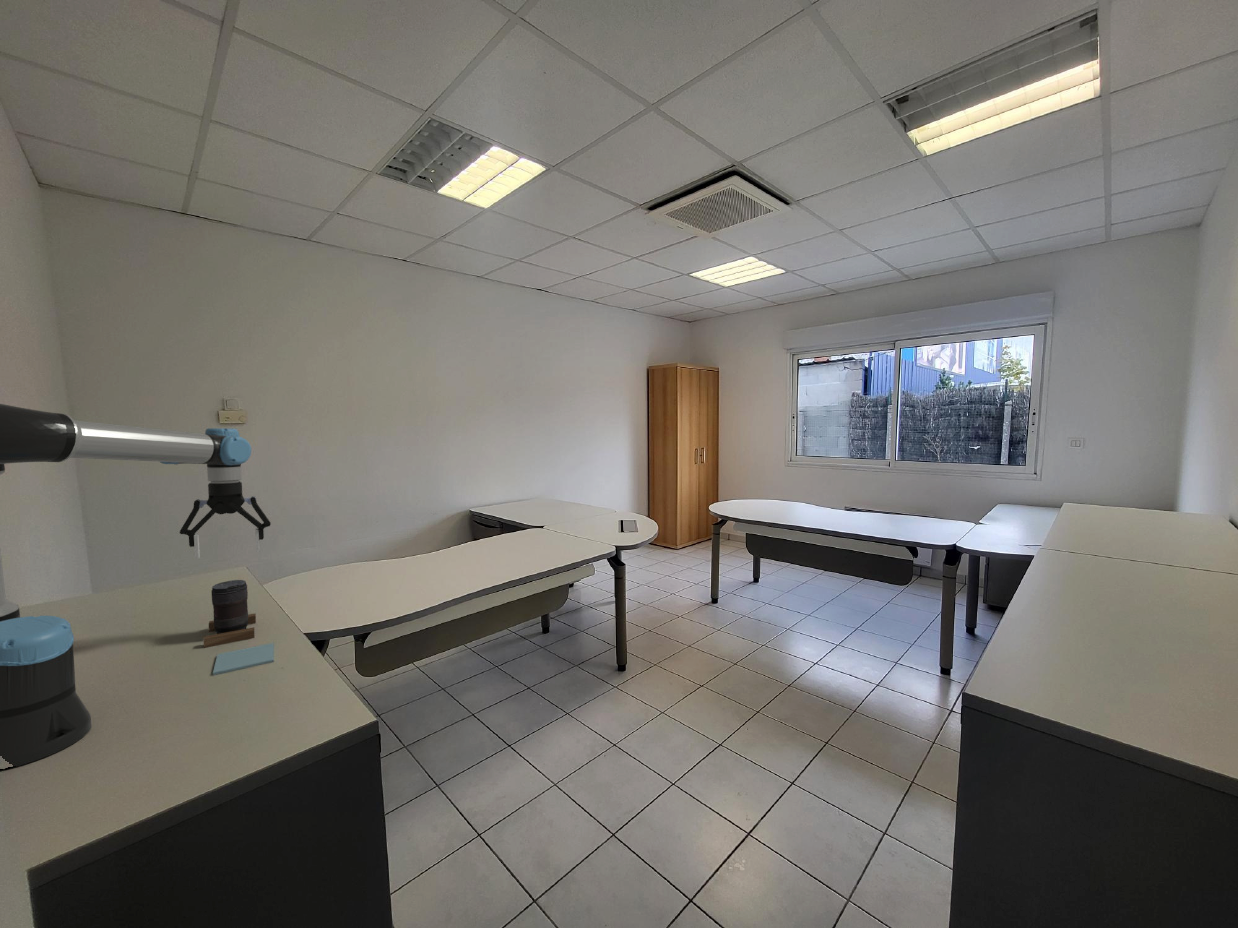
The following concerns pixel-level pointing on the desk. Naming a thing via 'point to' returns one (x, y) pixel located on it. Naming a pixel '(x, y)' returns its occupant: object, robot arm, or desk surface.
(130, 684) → the desk surface
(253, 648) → the mat
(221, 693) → the desk surface
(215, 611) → the camera lens
